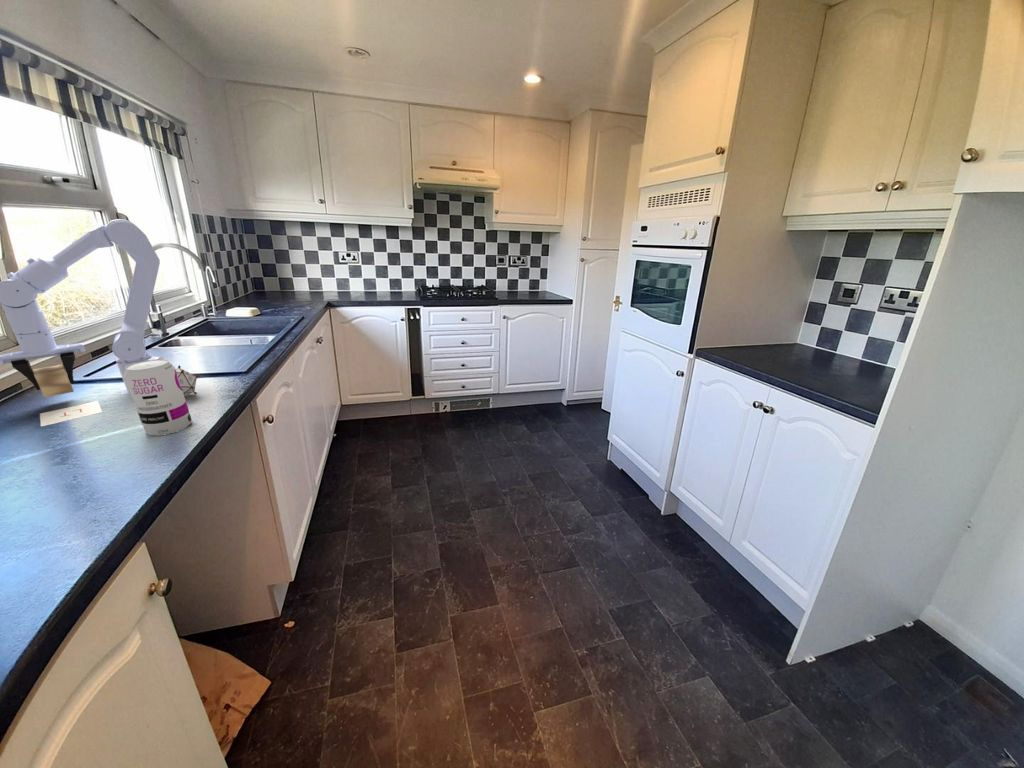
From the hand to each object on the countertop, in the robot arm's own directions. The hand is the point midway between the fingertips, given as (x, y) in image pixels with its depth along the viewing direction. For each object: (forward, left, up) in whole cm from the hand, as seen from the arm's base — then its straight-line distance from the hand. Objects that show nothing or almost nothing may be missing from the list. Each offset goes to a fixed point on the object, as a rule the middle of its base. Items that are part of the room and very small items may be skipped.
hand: (56, 385), depth 101 cm
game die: (-27, +4, -6) cm, 27 cm away
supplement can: (-31, +24, -6) cm, 39 cm away
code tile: (-6, +8, -5) cm, 11 cm away
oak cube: (0, 0, -2) cm, 2 cm away
